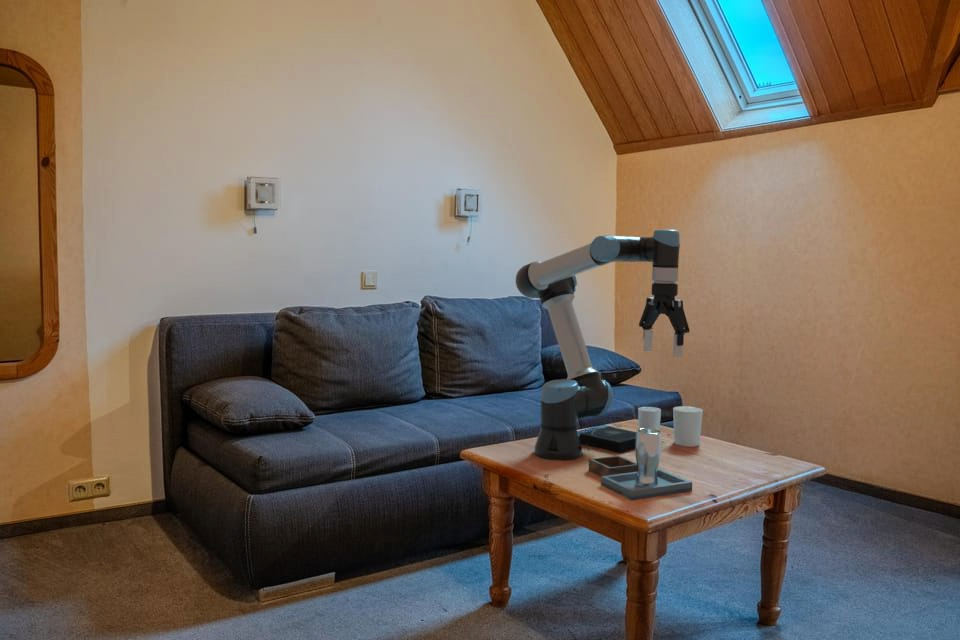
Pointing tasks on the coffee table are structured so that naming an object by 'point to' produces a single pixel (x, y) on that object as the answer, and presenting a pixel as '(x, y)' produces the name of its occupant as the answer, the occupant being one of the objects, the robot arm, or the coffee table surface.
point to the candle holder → (687, 425)
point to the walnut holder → (611, 465)
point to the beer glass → (647, 456)
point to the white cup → (649, 417)
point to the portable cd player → (609, 439)
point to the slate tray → (630, 490)
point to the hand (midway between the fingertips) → (662, 353)
